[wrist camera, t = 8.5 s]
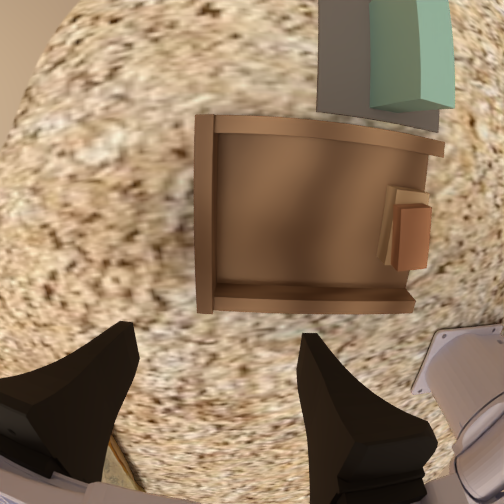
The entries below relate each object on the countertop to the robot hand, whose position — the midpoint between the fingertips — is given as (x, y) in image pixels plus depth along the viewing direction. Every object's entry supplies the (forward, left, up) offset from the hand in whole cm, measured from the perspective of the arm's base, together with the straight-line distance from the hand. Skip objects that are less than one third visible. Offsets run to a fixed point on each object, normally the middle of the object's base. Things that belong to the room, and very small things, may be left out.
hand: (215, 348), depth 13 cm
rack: (-6, -4, -10) cm, 12 cm away
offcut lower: (-11, -4, -9) cm, 15 cm away
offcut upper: (-11, -3, -8) cm, 14 cm away
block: (-10, -15, -10) cm, 20 cm away
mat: (-10, -15, -10) cm, 20 cm away
